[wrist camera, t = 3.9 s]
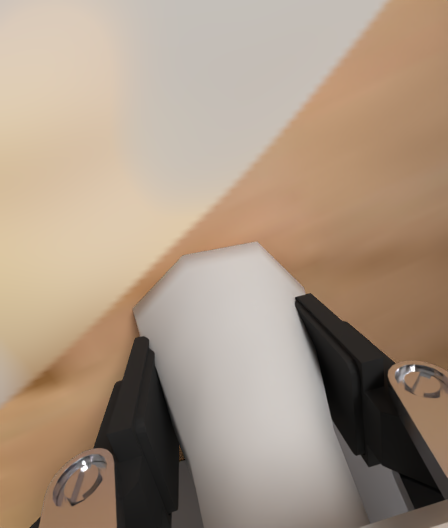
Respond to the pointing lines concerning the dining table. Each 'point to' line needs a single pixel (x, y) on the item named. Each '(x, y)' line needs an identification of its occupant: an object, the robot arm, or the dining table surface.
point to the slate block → (365, 478)
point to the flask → (247, 393)
